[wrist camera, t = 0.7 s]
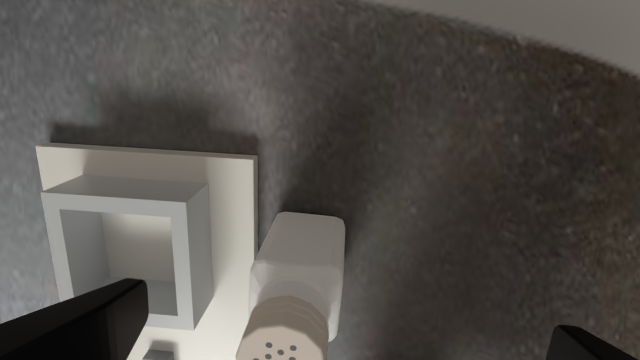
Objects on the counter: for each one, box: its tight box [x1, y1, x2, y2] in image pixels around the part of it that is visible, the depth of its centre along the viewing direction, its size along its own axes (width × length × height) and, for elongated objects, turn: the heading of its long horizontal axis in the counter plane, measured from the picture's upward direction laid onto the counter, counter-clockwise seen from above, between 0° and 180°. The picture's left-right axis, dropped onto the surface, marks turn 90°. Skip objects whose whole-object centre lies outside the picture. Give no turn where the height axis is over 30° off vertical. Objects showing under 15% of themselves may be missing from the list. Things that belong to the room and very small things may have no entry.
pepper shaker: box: [235, 212, 345, 360], centre depth 18 cm, size 4×4×10 cm
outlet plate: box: [35, 143, 258, 360], centre depth 22 cm, size 18×12×4 cm, turn 178°
